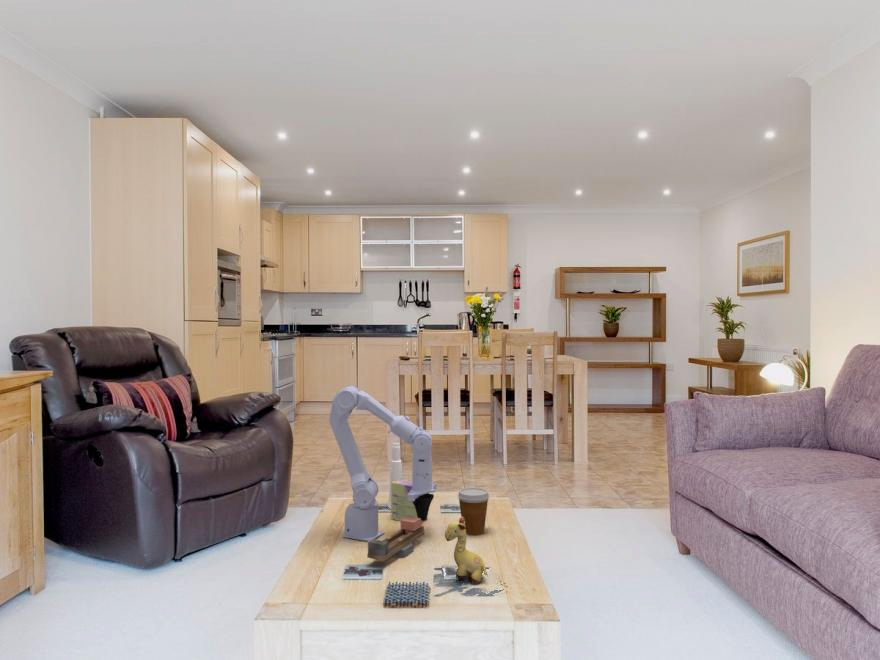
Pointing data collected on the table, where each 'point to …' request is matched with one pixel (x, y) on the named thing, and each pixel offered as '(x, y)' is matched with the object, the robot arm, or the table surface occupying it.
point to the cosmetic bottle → (395, 467)
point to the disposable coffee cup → (473, 509)
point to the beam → (394, 545)
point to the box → (401, 500)
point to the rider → (410, 524)
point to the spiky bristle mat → (406, 595)
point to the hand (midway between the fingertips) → (422, 519)
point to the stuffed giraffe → (463, 564)
